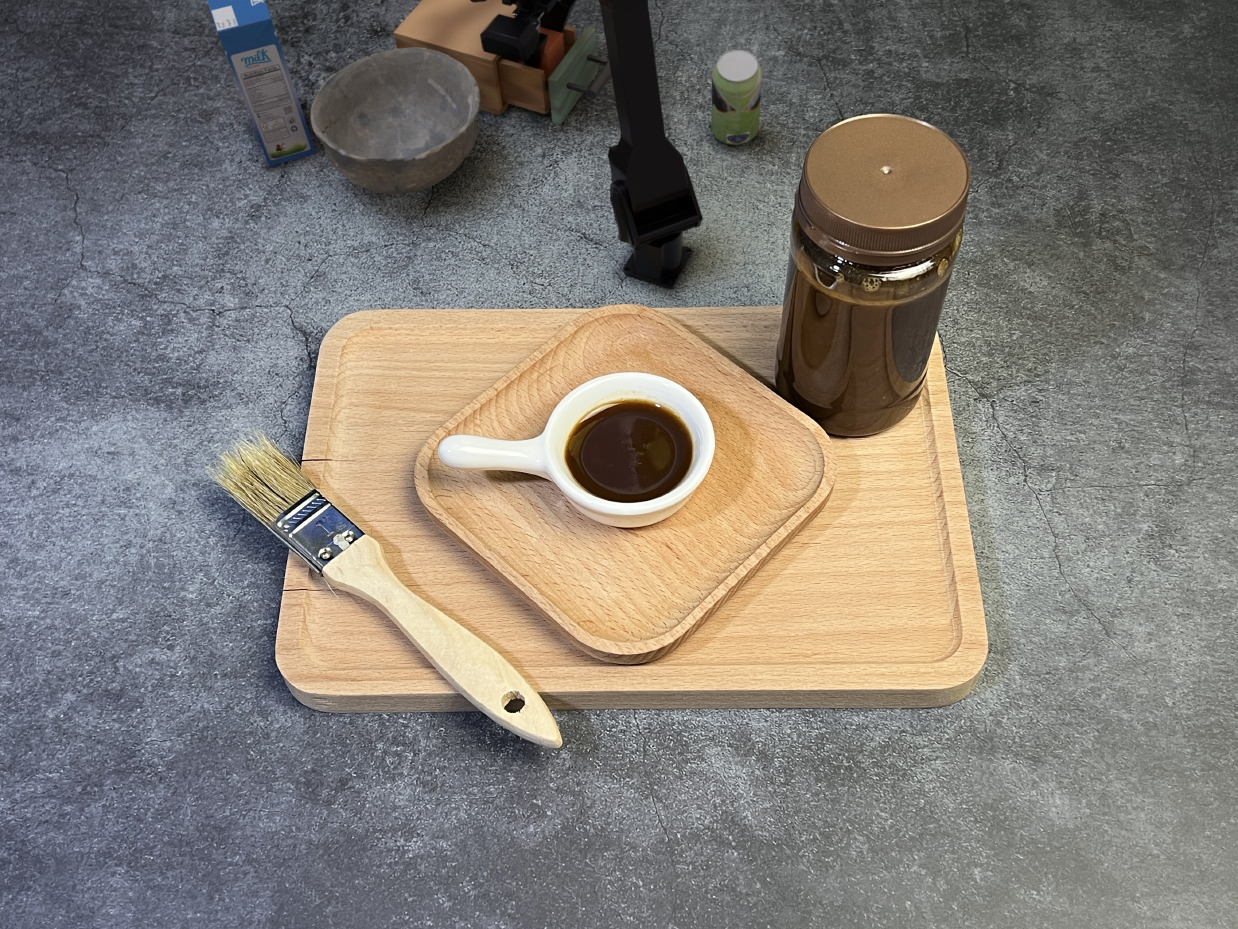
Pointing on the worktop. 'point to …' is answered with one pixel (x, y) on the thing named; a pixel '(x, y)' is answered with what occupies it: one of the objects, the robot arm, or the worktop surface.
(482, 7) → the cabinet
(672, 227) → the robot arm
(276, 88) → the milk carton
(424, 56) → the bowl
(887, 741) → the worktop surface
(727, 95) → the beverage can
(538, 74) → the drawer
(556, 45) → the block
